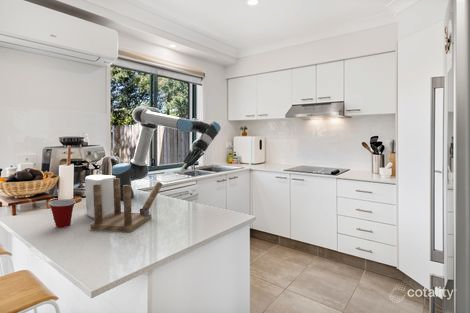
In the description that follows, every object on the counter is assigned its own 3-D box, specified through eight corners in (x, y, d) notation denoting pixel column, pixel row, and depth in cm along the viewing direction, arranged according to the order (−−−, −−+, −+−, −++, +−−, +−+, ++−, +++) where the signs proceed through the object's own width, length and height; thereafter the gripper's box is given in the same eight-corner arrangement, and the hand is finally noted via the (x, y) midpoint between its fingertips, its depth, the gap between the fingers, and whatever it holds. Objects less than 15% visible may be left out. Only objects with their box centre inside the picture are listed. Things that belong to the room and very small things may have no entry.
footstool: (151, 218, 139) (150, 179, 137) (130, 232, 120) (128, 186, 118) (116, 216, 143) (114, 177, 141) (90, 229, 123) (88, 185, 121)
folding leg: (145, 211, 139) (160, 184, 144) (148, 212, 137) (163, 184, 142) (140, 208, 137) (156, 181, 142) (143, 209, 135) (159, 182, 140)
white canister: (100, 220, 137) (98, 177, 135) (76, 218, 139) (74, 176, 137) (118, 211, 151) (117, 173, 149) (96, 210, 154) (94, 172, 152)
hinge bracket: (144, 213, 140) (144, 207, 139) (149, 215, 136) (148, 209, 136) (139, 214, 138) (139, 208, 138) (144, 216, 134) (144, 210, 134)
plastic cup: (67, 230, 122) (66, 204, 121) (44, 229, 123) (42, 204, 122) (81, 222, 133) (80, 198, 132) (60, 222, 133) (59, 198, 132)
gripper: (213, 147, 159) (191, 178, 149) (200, 146, 168) (178, 176, 158) (206, 138, 155) (182, 170, 145) (193, 138, 164) (170, 168, 154)
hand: (180, 173), depth 152 cm, fingers closed
